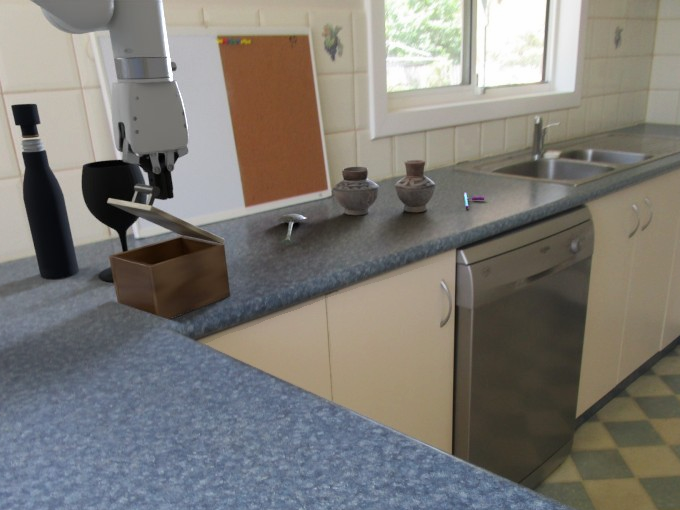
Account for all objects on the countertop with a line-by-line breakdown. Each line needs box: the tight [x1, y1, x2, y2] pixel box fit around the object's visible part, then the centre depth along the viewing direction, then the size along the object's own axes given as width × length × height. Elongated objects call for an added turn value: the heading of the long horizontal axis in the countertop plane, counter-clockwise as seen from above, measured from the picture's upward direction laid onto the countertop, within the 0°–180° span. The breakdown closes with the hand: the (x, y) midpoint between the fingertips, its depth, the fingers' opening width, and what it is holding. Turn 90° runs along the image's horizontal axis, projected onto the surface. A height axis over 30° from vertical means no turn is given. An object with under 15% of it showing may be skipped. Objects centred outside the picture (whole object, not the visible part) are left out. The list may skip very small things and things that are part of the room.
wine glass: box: [81, 159, 148, 283], centre depth 118 cm, size 10×10×20 cm
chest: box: [108, 235, 231, 320], centre depth 105 cm, size 14×11×9 cm
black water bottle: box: [10, 103, 80, 280], centre depth 117 cm, size 6×6×30 cm
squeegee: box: [463, 192, 485, 209], centre depth 170 cm, size 15×1×5 cm
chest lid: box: [107, 184, 225, 244], centre depth 103 cm, size 14×11×4 cm
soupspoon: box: [277, 213, 307, 247], centre depth 145 cm, size 22×3×7 cm
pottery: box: [332, 159, 436, 216], centre depth 161 cm, size 11×25×12 cm, turn 97°
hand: (163, 197), depth 101 cm, fingers closed
